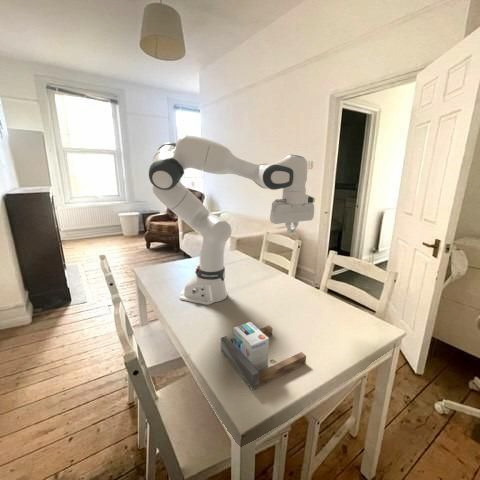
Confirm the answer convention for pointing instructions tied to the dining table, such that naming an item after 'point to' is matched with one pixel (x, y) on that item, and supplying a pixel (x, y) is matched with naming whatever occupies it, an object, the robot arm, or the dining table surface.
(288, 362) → the guide dock
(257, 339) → the light bulb box
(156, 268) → the dining table surface
